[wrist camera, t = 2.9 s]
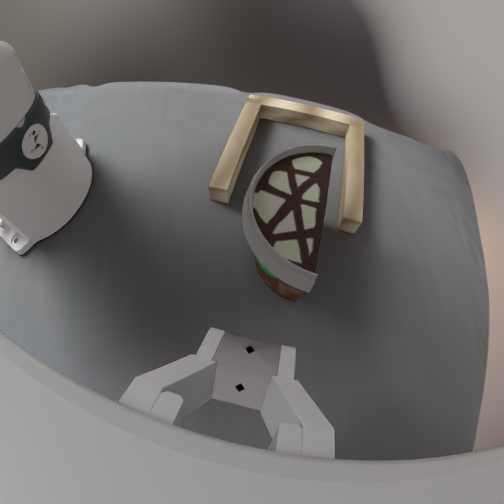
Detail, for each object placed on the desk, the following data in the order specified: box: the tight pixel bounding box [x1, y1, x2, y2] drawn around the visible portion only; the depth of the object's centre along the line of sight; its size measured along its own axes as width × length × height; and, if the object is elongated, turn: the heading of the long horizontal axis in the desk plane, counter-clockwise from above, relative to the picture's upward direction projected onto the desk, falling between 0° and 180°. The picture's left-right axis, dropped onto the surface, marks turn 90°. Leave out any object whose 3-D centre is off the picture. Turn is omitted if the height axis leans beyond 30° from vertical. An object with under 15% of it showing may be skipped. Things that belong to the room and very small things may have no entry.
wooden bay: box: [208, 94, 364, 234], centre depth 33 cm, size 16×17×2 cm
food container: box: [242, 144, 337, 301], centre depth 24 cm, size 12×6×10 cm, turn 165°
